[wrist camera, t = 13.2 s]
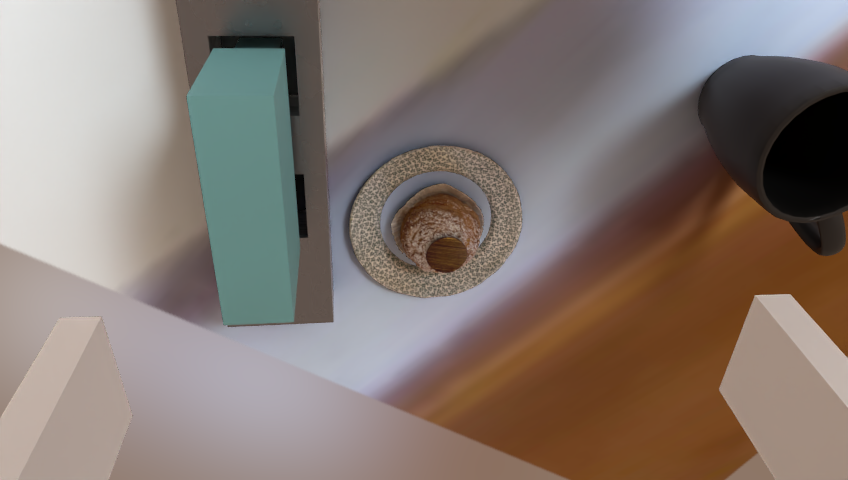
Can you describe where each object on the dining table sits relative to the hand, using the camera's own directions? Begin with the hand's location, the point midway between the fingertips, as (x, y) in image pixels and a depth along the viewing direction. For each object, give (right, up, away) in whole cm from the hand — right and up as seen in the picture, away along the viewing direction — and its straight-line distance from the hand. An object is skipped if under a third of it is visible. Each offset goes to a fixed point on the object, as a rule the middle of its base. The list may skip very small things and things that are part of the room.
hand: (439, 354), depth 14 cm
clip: (-10, +10, +27) cm, 30 cm away
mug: (+21, +10, +30) cm, 38 cm away
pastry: (0, +4, +32) cm, 32 cm away
